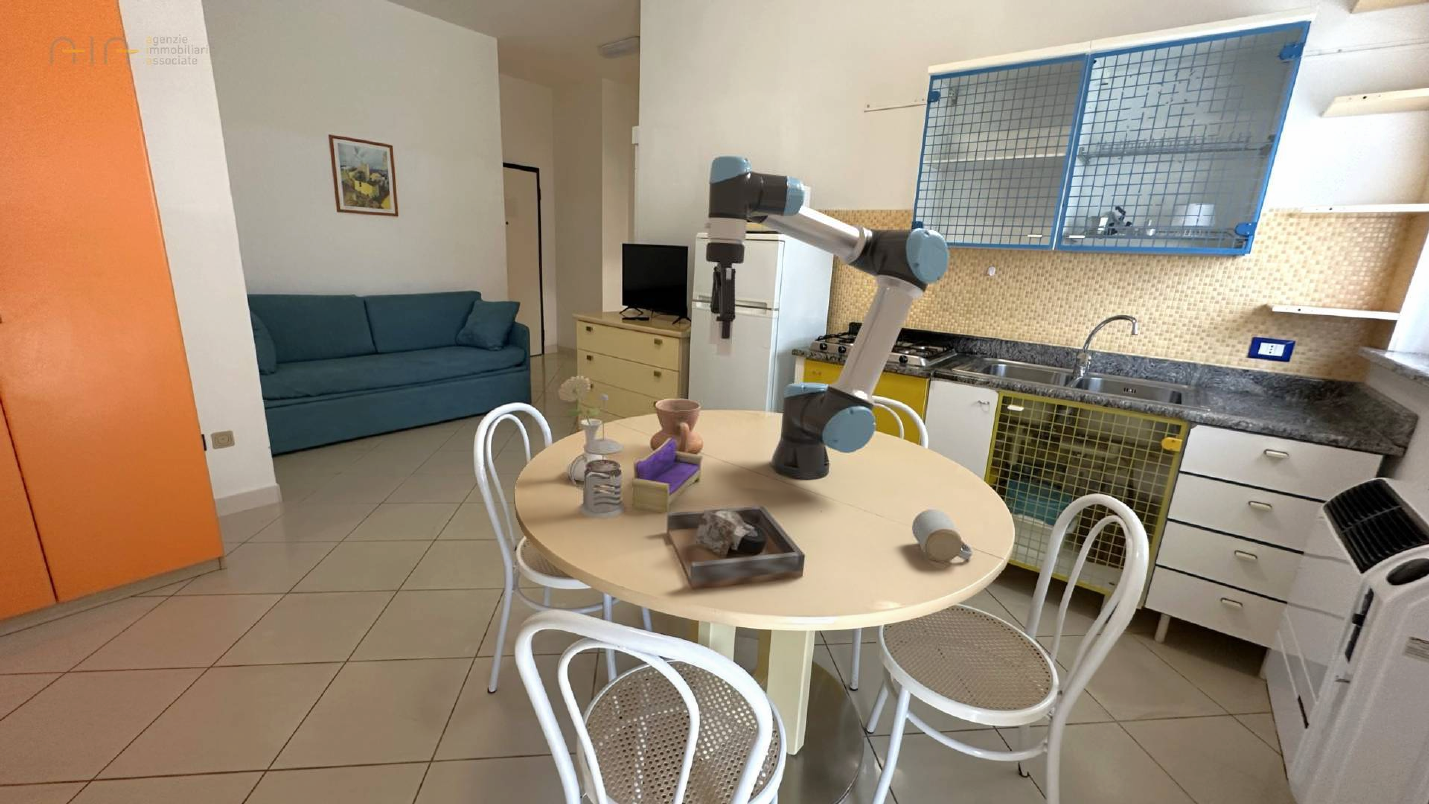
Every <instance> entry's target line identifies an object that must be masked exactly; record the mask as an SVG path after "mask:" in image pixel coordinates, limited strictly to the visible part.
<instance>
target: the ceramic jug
mask: <svg viewBox="0 0 1429 804" xmlns="http://www.w3.org/2000/svg"><path fill="white" fill-rule="evenodd" d="M655 411H656V412H655V413H656V416H657V420H658V422H659V424H660V427H661V429H660V430H659V431H657V432H656V433H654V434H653V436H652V437H651V438H650V442H649V443H650V447H651V450H652V452H653V451H655V450H656V449H657V448H659V447H660V446H661V445H663V444H664V443H665V441H666V440H667V439H668V438H671V439H674V440H675V442H676V451H678V452H684V453H690V454H695V455H699V453H700V452H701V451H702V449H703V447H704V441H703V438H702V437H701V436H700V434H698V433H697V432H695V431H694V429H695V426H696V424H697V421H698V418H699V416H700V413H701V412H700V411H701V404H700V403H699V402H698V401H695V400H693V399H687V398H686V399H685V398H677V399H675V398H665V399H662V400H658V401H657V402H656V403H655Z"/></svg>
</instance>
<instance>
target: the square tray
mask: <svg viewBox="0 0 1429 804" xmlns="http://www.w3.org/2000/svg"><path fill="white" fill-rule="evenodd" d="M705 510H706V509H704V510H702V509H701V510H691V511H690V510H688V511H679V512H678V511H677V512H676V511H675V512H668V513H666V514H667V521H666V534H667V536H668V539H669V541H670V543H671V546H672V548H673V549H674V553H675V555H676V557H677V559H678V562H679V564H680V566H681V569H682V570H683V573H684V574H685V575H684V576H685V577H686V580H687V582H688V584H689V586H690V589H691V590H696V589H706V588H716V587H723V586H734V585H742V584H749V583H750V584H751V583H759V582H760V583H761V582H766V581H777V580H785V579H794V578H803V576H804V570H805V569H804V568H805V566H804V565H805V557H806V554H805V553H804V552H803V551H802V550H801V548H800V547H799V546H798V545H797V544H796V543H795V541H794V540H793V539H792V538H791V537H790V536H789V534H788V533H787V532H786V531H785V530H784V528H783V527H782V526H781V525H780V524H779V523H778V522H777V520H776V519H775V518H774V517H773V516H772V514H771V513H770V512H769V511H768V509H766V507H764V506H763V505H760V506H759V505H758V506H746V507H745V506H744V507H733V508H732V507H731V508H717V509H707V510H708V511H710V512H712V513H715V512H718V511H722V510H732V511H735V512H736V513H738V514H739V515H740V517H741V518H742V520H745V521H748V522H750V523H753V524H755V525H757V526H758V527H760V528H761V529H762V530H764V532H765V533H766V534H767V537H768V538H767V541H766V544H765V547H764V549H763V551H762V552H759V553H748V552H744V551H741V550H734V549H731V548H729V549H728V552H727V554H726V557H725V558H723V557H721V556H719V555H718V554H716V553H714V552H712V551H710V550H709V549H707V548H705V547H703V546H701V545H700V544H698V543H696V542H694V539H695V536H696V533H697V531H698V528H699V525H700V522H701V519H702V516H703V513H704V511H705Z"/></svg>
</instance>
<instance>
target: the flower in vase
mask: <svg viewBox="0 0 1429 804" xmlns="http://www.w3.org/2000/svg"><path fill="white" fill-rule="evenodd" d="M560 387H561V388H559V389H558V390H557V391H558V392H557V393H558V395H559V398H560V400H563V402H564V401H567V402H568V403H569V402H571V403H572V402H576V401H578V405H579V410H578V409H570V410H569V411H567V412H566V413H565V414H564V415H563V417H562V418H570V419H571V418H572V419H575V418H577V417H578V416H579V415H581V414H582V415H583V416H584V419H583V420H580V421H579V424H580V425H581V426H582V428H583V430H584V434H585V435H584V436H585V444H587V443H588V442H590V441H592V440H596V439H597V433H598V430H599V427H600V426H601V425H602V424H603V420H601V419H596V418H592V417H596V416H597V415H598V414H599V412H600V411H601V405H598V406H597V407H594V408H592V409H589V410H588V411H587V413H586V414H585V412H584V410H583V409H582V406H581V405H582V404H581V400H580V399H582V398H585V397H586V395H587V394H588V393H589V391H591V390H592V389H591V381H590V378H589V377H588V378H585V377H584V375H581V376H580V375H576V376H575V377H574V376H571V377H570V378H569V379H567V380H565V381H564V383H561V385H560ZM581 455H584V457H586V458H587V463H588V462H591V461H592V460H594V461H595V460H597V459H598V460H599V459H600V460H602V459H603V460H604V459H606V460H608V459H607V458H606V457H604V456H603V455H595V454H590V453H587V452H586V451H585V450H584V452H583V453H581ZM579 456H580V455H579ZM576 458H577V457H576ZM581 458H583V456H580V457H579V458H577V460H576V461H575V462H574V464H573V466H572V470H571V472H572V473H573V469H574V466H575V465H576V463H577V462H578V461H579V460H580V459H581ZM586 458H585V461H586ZM572 463H573V461H571V462H570V464H569V465H568V466H566V474H567V475H568V477H570V468H571V465H572ZM587 463H585V462H584V460H583V459H582V460H580V462H579V463H578V464H577V465H576V467H575V470H574V480H577V481H579V482H580V481H581V482H584V471H585V470H586V469H587V468H586V466H585V465H586V464H587ZM592 474H599V475H601V476H604V477H607V478H611V476H610V475H606V474H603V473H595V472H590V473H589V474H588V475H587V476H590V475H592ZM592 478H594V479H602V478H599V477H592ZM572 479H573V475H572Z"/></svg>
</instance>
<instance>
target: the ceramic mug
mask: <svg viewBox="0 0 1429 804" xmlns="http://www.w3.org/2000/svg"><path fill="white" fill-rule="evenodd" d="M911 527H912V528H911V531H912V534H913V536H914V538H915V539H916V541H917V543H918V544H919V546H920V547H921V549H922V551H923V552H924V553H925V554H926V555H927V556H928V557H929V558H930V559H931V560H933V561H936V562H940V561H944V562H949V561H952V560H954V559H955V558H957V557H959V558H960V559H963V560H965V559H968V560H970V559H971V557H972V556H973V553H974V552H973V550H972V548H970V546H969V545H968V544H967V543H966V542H964V541H963V540H962V538H961V537H962V536H961V534H960V532H959V531H958V530H957V528H956V526H955V525H954V523H953V522H952V520H951V518H950V517H949V515H947V513H945V512H944V511H942V510H940V509H936V508H932V509H931V508H930V509H925V510H923V511H921V512H920V513H918V514H917V516H915V518H914V520H913V522H912V526H911ZM961 548H962V549H963V550H961Z"/></svg>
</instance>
